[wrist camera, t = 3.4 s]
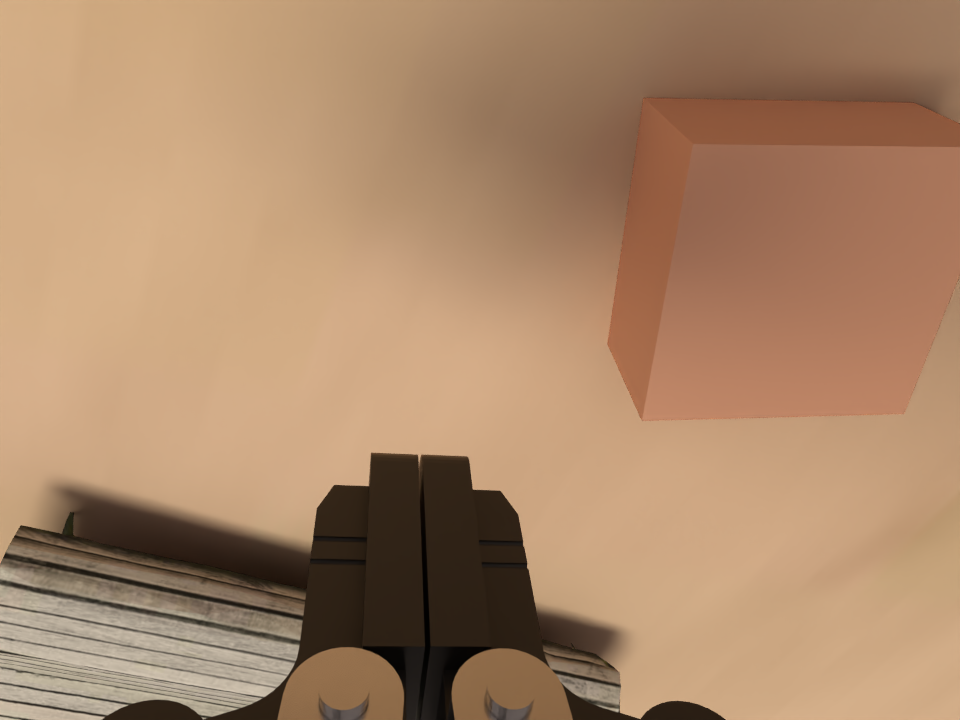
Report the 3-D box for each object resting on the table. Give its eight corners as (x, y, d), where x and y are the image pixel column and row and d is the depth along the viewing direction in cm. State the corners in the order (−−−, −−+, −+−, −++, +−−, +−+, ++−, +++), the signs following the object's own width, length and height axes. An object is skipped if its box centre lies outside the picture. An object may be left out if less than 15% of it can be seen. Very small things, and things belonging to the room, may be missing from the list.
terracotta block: (605, 340, 26) (641, 420, 23) (641, 95, 22) (693, 144, 18) (832, 336, 27) (903, 413, 23) (908, 100, 23) (1011, 147, 19)
